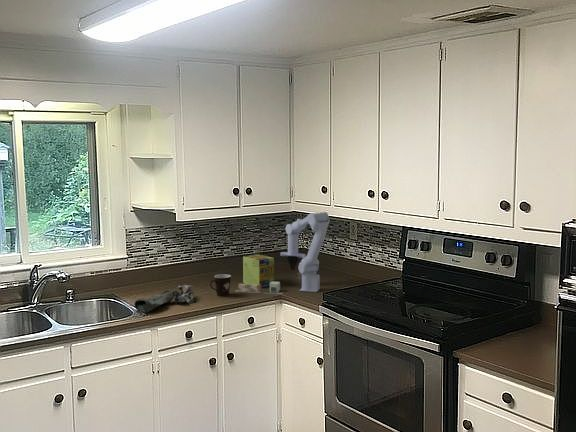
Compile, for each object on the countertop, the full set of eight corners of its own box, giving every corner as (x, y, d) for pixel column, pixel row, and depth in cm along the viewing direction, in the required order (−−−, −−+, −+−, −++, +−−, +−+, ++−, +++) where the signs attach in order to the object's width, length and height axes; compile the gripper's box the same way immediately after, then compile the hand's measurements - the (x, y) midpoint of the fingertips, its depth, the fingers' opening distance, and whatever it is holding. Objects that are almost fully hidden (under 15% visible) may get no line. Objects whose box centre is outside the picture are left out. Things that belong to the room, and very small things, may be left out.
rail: (283, 293, 327) (283, 292, 327) (282, 294, 326) (282, 293, 326) (236, 290, 334) (236, 289, 334) (235, 291, 332) (235, 290, 332)
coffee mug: (229, 292, 331) (228, 273, 330) (232, 296, 323) (232, 277, 322) (207, 294, 327) (207, 275, 326) (210, 298, 319) (210, 279, 318)
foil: (163, 296, 310) (180, 275, 319) (173, 312, 316) (189, 290, 325) (180, 299, 303) (197, 277, 313) (190, 314, 309) (206, 292, 318)
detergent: (150, 315, 290) (185, 301, 311) (148, 300, 289) (183, 287, 310) (129, 313, 296) (165, 300, 318) (127, 298, 296) (163, 286, 317)
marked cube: (280, 290, 335) (280, 282, 335) (277, 292, 331) (277, 284, 330) (272, 289, 337) (272, 281, 336) (269, 291, 332) (269, 283, 332)
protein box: (259, 288, 340) (259, 260, 338) (242, 283, 351) (242, 256, 349) (274, 285, 346) (274, 257, 344) (257, 280, 358) (257, 253, 356)
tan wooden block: (261, 291, 331) (260, 284, 331) (259, 292, 328) (259, 285, 328) (239, 289, 334) (239, 282, 334) (237, 291, 331) (237, 284, 331)
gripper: (277, 245, 344) (278, 269, 346) (301, 247, 338) (301, 272, 339) (283, 243, 350) (283, 267, 352) (307, 245, 344) (307, 269, 346)
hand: (292, 269), depth 346 cm, fingers closed
